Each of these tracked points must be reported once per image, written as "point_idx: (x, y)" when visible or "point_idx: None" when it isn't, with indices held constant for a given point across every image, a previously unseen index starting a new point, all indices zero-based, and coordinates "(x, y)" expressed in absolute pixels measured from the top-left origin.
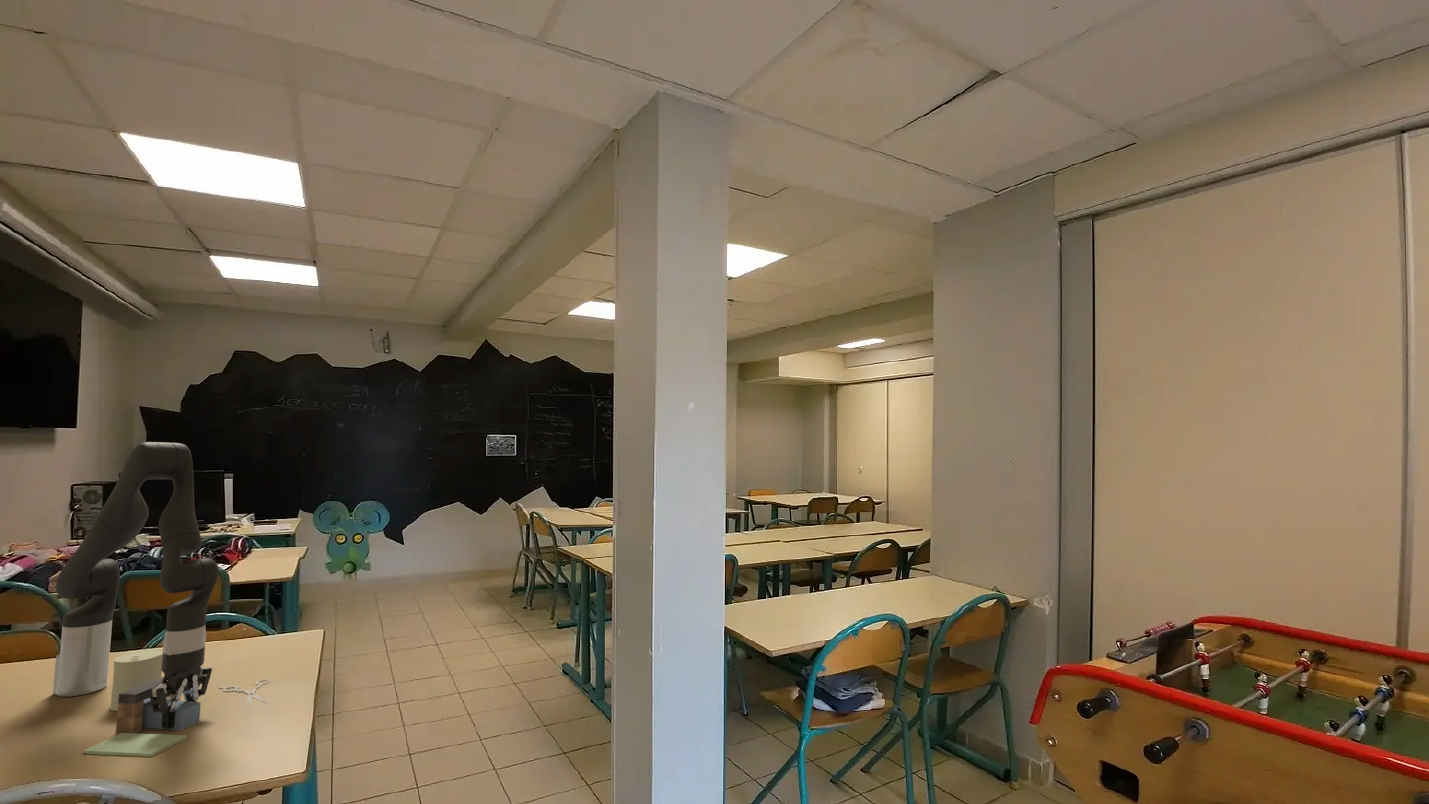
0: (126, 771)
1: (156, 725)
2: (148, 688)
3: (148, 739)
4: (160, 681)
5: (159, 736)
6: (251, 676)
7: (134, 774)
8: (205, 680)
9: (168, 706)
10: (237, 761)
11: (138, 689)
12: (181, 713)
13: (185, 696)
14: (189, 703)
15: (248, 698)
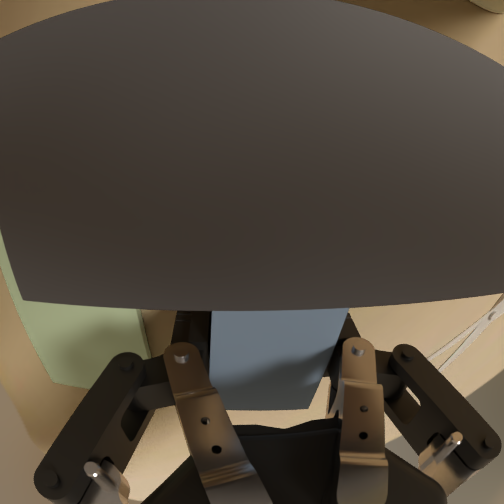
0: (6, 368)
1: None
2: (227, 281)
3: (95, 319)
4: (492, 212)
5: (125, 336)
6: None
7: (12, 386)
8: (413, 445)
9: (169, 405)
10: (123, 473)
11: (165, 144)
12: None
13: (340, 370)
14: (297, 384)
15: (464, 332)
